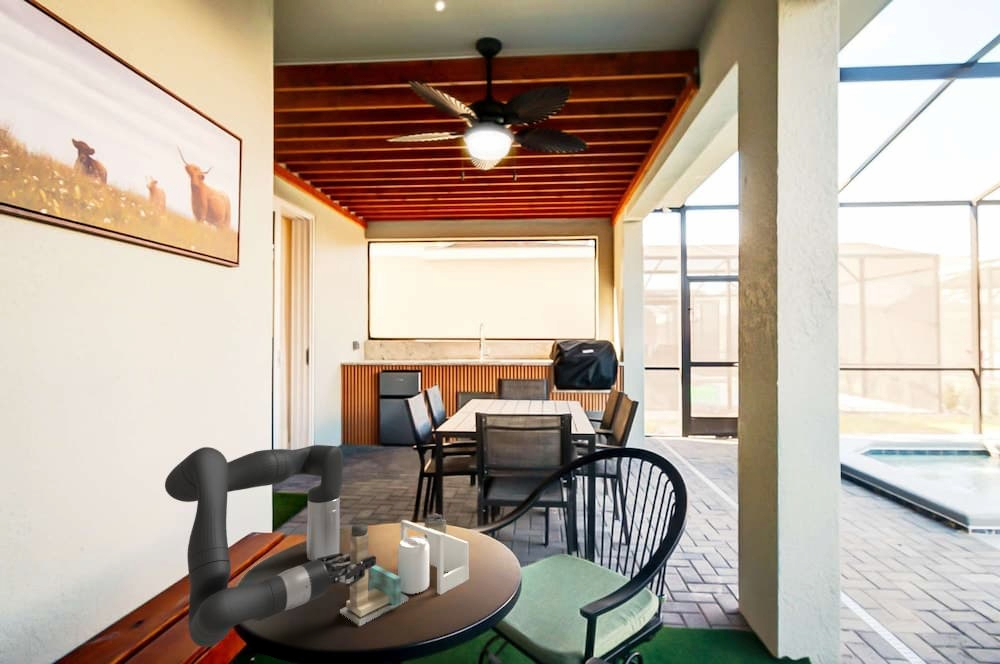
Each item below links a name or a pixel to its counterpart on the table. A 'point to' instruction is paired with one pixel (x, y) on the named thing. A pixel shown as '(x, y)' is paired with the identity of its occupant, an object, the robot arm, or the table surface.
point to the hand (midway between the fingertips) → (369, 557)
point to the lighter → (436, 523)
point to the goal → (444, 556)
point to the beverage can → (413, 564)
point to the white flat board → (371, 615)
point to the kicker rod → (370, 579)
